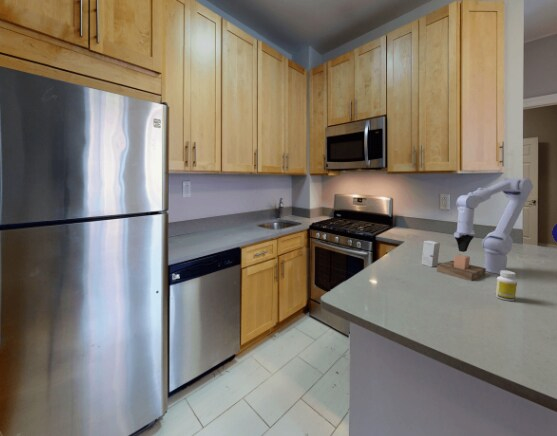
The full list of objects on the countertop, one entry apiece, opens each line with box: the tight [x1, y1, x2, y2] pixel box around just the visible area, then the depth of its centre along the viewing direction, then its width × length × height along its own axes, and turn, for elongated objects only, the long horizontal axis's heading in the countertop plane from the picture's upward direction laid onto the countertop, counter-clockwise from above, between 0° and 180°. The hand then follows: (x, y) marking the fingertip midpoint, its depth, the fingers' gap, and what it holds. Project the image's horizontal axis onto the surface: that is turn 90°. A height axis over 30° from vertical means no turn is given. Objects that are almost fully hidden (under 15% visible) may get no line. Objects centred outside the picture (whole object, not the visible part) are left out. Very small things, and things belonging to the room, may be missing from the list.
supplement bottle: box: [494, 269, 518, 302], centre depth 92 cm, size 5×5×10 cm
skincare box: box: [421, 240, 441, 268], centre depth 130 cm, size 6×4×12 cm
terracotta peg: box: [453, 254, 471, 270], centre depth 118 cm, size 4×4×8 cm
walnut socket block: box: [436, 260, 487, 282], centre depth 119 cm, size 14×14×3 cm
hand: (462, 251), depth 118 cm, fingers closed
